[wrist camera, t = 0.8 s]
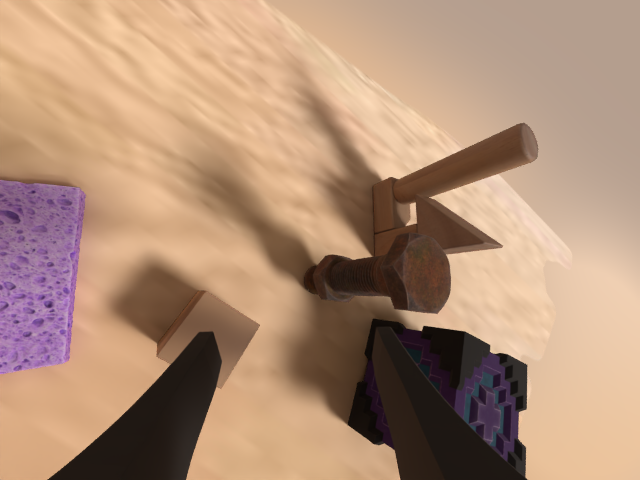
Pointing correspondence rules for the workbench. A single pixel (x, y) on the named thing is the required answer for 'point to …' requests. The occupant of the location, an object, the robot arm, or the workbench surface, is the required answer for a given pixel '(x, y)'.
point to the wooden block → (444, 176)
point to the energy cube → (453, 387)
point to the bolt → (388, 275)
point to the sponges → (37, 272)
